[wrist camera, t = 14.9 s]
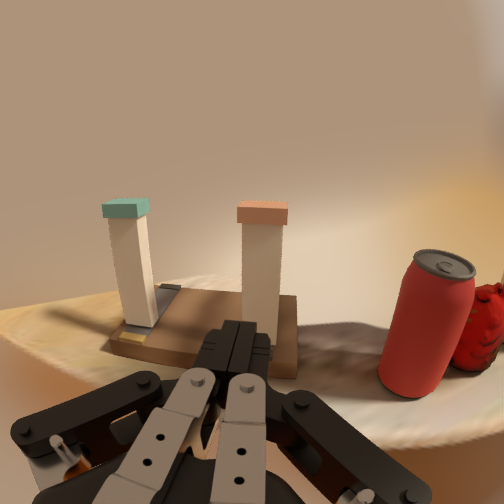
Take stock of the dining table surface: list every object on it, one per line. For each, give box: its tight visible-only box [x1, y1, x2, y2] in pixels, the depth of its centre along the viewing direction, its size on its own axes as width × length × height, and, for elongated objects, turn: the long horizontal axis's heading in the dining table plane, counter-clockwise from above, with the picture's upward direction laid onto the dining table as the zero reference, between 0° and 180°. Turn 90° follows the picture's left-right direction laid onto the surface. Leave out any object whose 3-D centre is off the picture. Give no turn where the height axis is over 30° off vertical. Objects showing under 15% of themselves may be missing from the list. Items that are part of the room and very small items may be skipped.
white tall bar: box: [237, 200, 288, 345], centre depth 24 cm, size 4×2×12 cm, turn 83°
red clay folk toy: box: [451, 283, 504, 372], centre depth 22 cm, size 8×7×15 cm
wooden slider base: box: [109, 284, 298, 379], centre depth 31 cm, size 18×12×2 cm, turn 83°
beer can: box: [378, 249, 476, 398], centre depth 22 cm, size 7×7×12 cm
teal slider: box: [102, 198, 159, 328], centre depth 26 cm, size 4×2×12 cm, turn 83°
